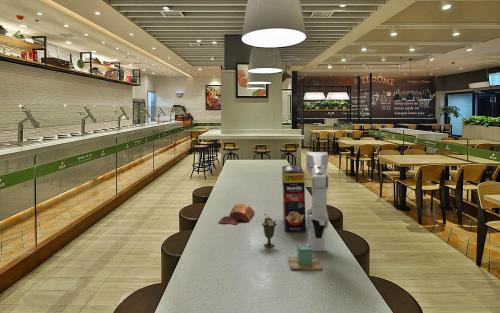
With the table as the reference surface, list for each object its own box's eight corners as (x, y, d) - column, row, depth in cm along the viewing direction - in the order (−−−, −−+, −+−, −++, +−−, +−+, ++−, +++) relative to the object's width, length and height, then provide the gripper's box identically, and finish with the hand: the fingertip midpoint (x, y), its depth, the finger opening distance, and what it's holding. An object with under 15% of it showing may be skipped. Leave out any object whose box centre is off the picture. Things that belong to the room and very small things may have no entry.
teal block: (297, 259, 151) (297, 245, 150) (309, 259, 151) (310, 245, 150) (298, 265, 146) (298, 250, 145) (311, 264, 146) (312, 250, 145)
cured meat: (217, 224, 204) (217, 212, 204) (225, 213, 229) (225, 202, 228) (249, 226, 202) (249, 214, 202) (254, 214, 227) (254, 204, 226)
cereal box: (282, 218, 217) (281, 164, 213) (302, 218, 216) (301, 163, 213) (284, 233, 190) (283, 171, 187) (306, 232, 190) (305, 170, 186)
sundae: (258, 245, 170) (258, 213, 168) (268, 242, 175) (268, 211, 173) (269, 249, 165) (269, 216, 164) (279, 245, 170) (279, 213, 169)
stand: (288, 258, 154) (288, 247, 154) (316, 258, 154) (317, 247, 154) (291, 270, 142) (291, 258, 142) (322, 270, 142) (322, 258, 142)
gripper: (306, 200, 156) (306, 232, 157) (312, 209, 142) (311, 243, 143) (323, 200, 156) (322, 232, 158) (330, 209, 142) (330, 243, 143)
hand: (318, 237), depth 150 cm, fingers closed
